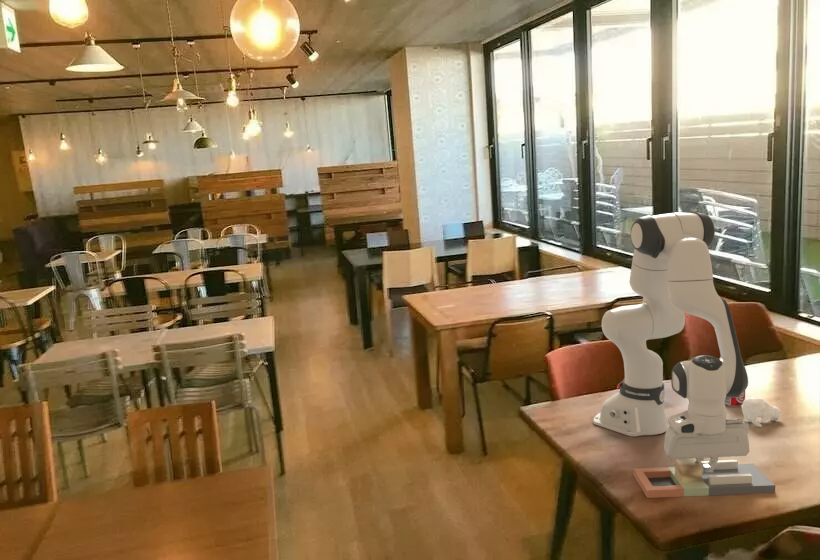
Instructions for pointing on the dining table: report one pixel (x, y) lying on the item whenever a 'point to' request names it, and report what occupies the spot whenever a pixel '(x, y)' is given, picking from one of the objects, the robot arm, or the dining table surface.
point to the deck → (662, 485)
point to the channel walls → (728, 478)
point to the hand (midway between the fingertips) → (706, 472)
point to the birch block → (688, 470)
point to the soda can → (735, 400)
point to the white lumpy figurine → (759, 410)
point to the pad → (690, 485)
